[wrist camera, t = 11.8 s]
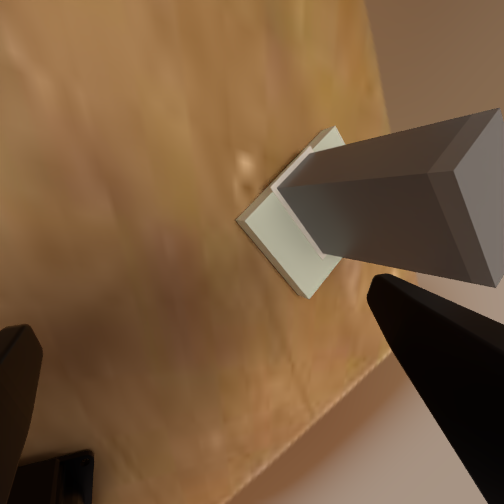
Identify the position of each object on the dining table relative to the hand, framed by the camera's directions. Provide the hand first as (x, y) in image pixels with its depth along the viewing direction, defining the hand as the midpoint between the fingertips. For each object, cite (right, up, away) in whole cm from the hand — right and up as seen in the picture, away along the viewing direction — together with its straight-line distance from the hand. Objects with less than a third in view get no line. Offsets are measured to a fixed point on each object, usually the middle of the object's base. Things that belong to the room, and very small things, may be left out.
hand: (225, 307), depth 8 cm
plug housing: (+6, +5, +16) cm, 17 cm away
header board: (+6, +5, +17) cm, 19 cm away
